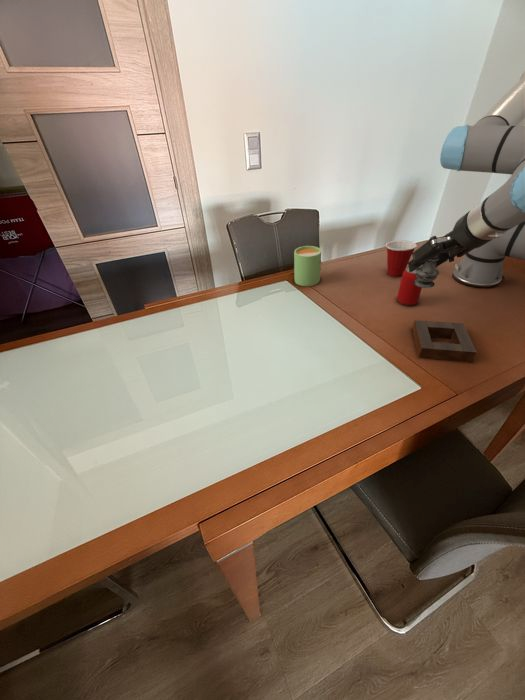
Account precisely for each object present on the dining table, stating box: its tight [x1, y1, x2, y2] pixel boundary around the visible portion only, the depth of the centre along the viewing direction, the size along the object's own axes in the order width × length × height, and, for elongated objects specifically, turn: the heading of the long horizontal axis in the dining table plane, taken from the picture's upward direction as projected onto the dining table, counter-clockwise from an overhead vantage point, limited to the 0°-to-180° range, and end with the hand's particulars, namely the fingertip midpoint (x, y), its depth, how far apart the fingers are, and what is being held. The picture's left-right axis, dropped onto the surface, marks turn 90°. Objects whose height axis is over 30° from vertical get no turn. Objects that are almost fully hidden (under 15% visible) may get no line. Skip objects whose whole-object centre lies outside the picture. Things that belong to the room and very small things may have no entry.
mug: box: [293, 245, 323, 287], centre depth 118 cm, size 13×10×12 cm
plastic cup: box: [385, 239, 418, 278], centre depth 116 cm, size 11×11×12 cm
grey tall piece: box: [414, 254, 440, 289], centre depth 80 cm, size 6×6×12 cm
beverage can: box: [396, 265, 423, 306], centre depth 100 cm, size 7×7×12 cm
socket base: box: [411, 319, 477, 363], centre depth 85 cm, size 13×13×4 cm
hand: (420, 265), depth 84 cm, fingers closed on grey tall piece, 5 cm apart
